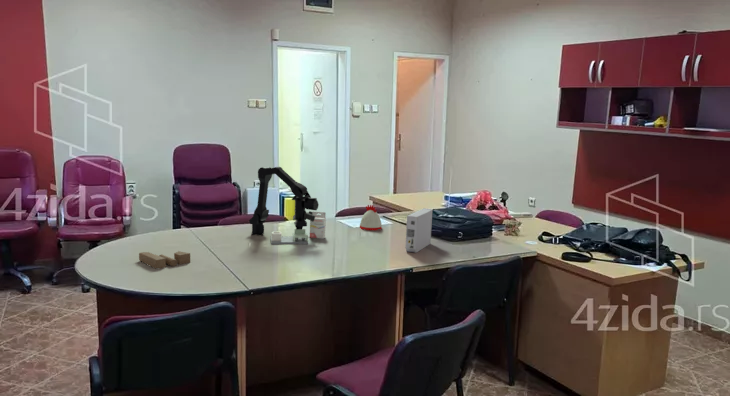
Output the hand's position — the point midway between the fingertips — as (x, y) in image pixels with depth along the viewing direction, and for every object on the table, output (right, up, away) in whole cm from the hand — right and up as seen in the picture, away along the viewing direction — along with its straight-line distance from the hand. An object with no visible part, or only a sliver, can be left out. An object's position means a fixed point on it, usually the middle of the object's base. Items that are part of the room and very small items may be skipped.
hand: (299, 235), depth 308 cm
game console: (+67, -7, -7) cm, 67 cm away
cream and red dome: (+41, +2, +39) cm, 57 cm away
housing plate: (-6, -3, -3) cm, 7 cm away
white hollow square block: (-12, -2, -6) cm, 13 cm away
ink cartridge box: (+9, -2, +8) cm, 13 cm away
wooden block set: (-57, -9, -53) cm, 78 cm away
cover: (+1, -2, -5) cm, 6 cm away
